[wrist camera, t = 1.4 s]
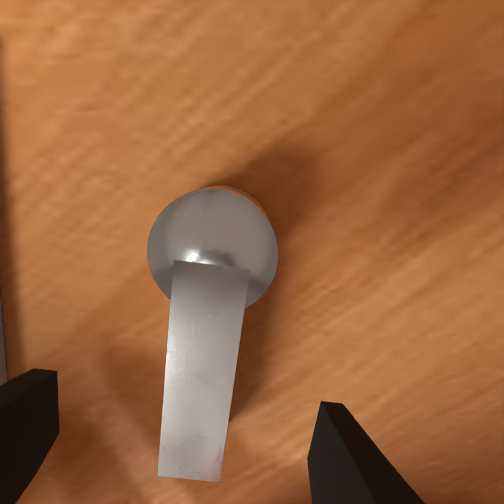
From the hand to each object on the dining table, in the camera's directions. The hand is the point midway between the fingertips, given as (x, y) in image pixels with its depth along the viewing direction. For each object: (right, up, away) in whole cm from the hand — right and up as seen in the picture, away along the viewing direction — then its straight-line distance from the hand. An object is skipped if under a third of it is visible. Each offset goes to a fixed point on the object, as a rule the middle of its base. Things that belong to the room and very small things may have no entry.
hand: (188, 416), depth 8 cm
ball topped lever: (0, +1, +6) cm, 6 cm away
